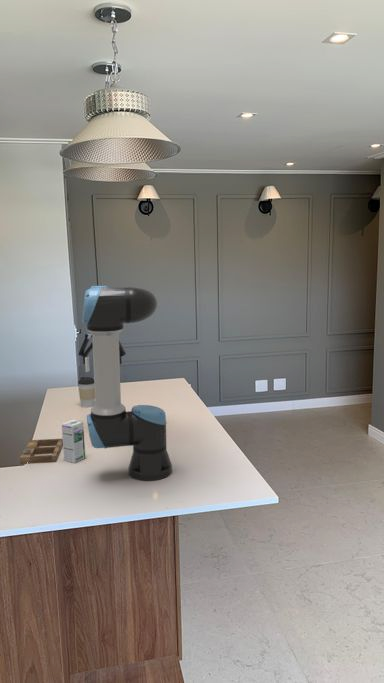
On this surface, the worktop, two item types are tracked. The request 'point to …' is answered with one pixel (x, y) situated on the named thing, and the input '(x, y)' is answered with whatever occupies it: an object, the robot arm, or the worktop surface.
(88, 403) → the coffee cup
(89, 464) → the worktop surface
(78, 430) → the syrup box
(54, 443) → the socket board
